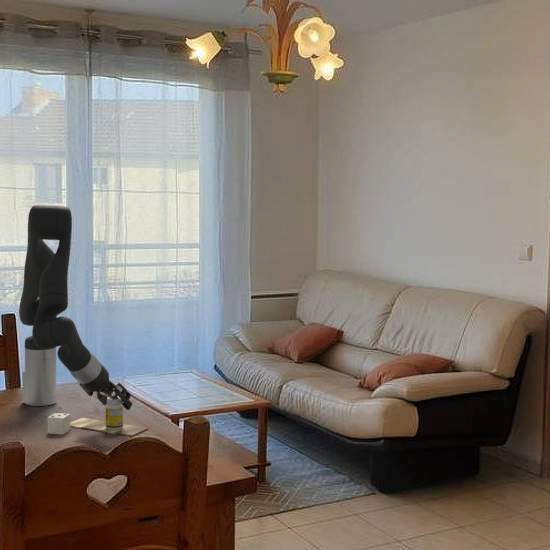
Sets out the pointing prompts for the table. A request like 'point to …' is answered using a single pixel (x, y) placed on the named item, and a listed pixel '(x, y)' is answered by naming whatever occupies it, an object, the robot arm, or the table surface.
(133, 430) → the track
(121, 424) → the supplement bottle
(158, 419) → the table surface
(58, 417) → the die
